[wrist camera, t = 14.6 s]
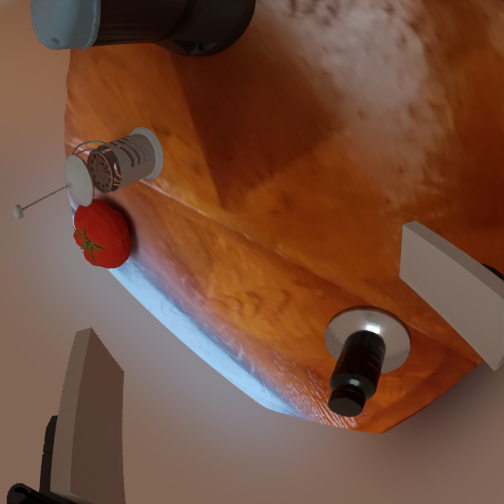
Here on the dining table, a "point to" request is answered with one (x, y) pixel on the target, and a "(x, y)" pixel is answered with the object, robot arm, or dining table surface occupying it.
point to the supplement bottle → (356, 373)
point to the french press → (110, 166)
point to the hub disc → (374, 322)
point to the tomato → (102, 234)
